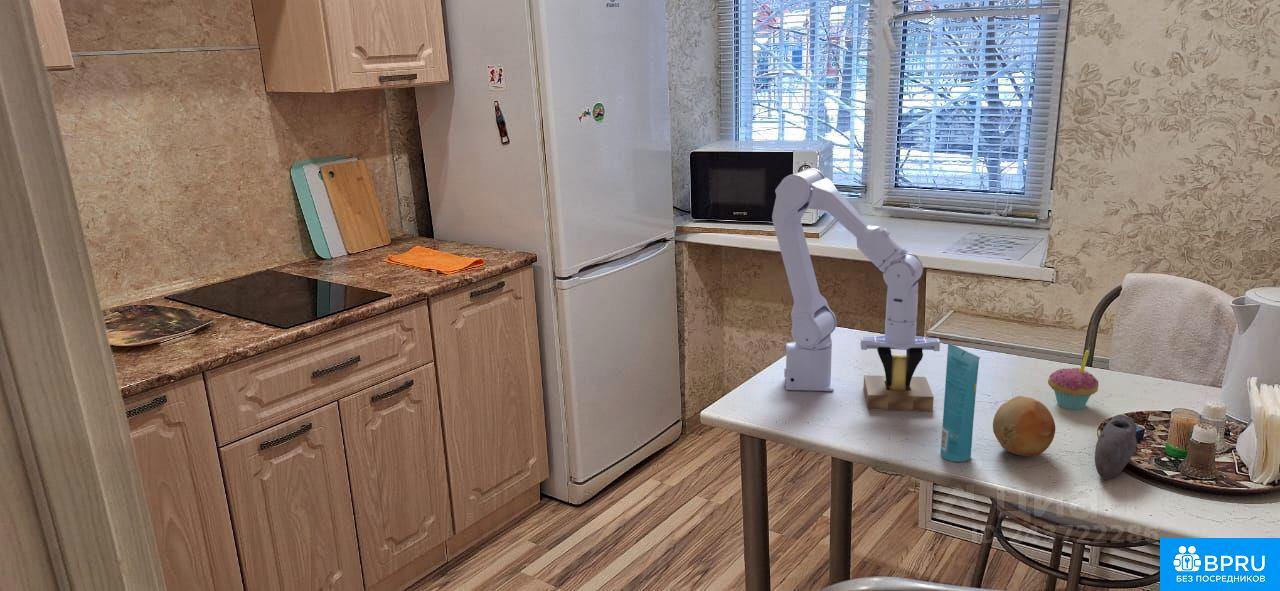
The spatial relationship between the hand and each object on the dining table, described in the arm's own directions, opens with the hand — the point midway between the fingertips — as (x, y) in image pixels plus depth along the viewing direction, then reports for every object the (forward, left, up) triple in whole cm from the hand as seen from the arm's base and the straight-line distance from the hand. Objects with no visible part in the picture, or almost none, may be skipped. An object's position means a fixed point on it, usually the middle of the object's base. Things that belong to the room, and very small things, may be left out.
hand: (897, 383), depth 170 cm
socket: (0, 0, -3) cm, 3 cm away
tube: (+7, -23, -4) cm, 24 cm away
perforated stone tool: (+31, -25, -4) cm, 40 cm away
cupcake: (+32, 0, -4) cm, 32 cm away
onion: (+18, -21, -4) cm, 28 cm away
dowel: (0, 0, -2) cm, 2 cm away
